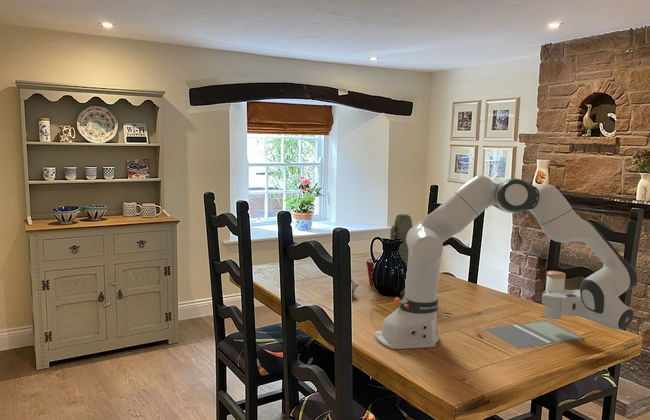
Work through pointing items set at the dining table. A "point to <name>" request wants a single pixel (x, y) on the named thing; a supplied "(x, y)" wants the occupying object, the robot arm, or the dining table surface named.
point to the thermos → (402, 236)
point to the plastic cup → (369, 269)
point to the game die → (353, 286)
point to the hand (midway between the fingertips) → (552, 291)
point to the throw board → (533, 334)
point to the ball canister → (554, 284)
